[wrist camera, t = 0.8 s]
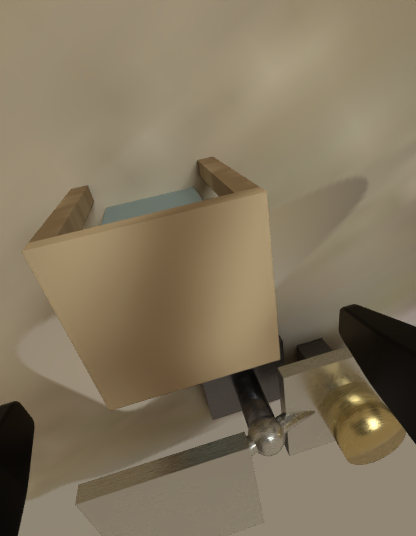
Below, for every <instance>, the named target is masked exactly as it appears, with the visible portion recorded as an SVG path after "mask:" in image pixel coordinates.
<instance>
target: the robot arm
mask: <svg viewBox="0 0 416 536" xmlns="http://www.w3.org/2000/svg"><path fill="white" fill-rule="evenodd" d="M339 333H340V336H341V338H342V339H343V341H344V343H345V344H346V346H347V348H348V349H349V351H350V352H351V354H352V356H353V357H354V359H355V361H356V362H357V364H358V365H359V367H360V369H361V370H362V372H363V374H364V375H365V377H366V378H367V380H368V381H369V383H370V384H371V386H372V387H373V389H374V390H375V391H376V393H377V394H378V395H379V397H380V398H381V399H382V401H383V402H384V403H385V404H386V406H387V407H388V408H389V410H390V411H391V412H392V414H393V415H394V416H395V418H396V419H397V420H398V422H399V423H400V424H401V425H402V427H403V428H404V429H405V431H406V432H407V433H408V435H409V436H410V437H411V439H412V440H413V441H414V443H415V444H416V327H415V326H412V325H410V324H407V323H405V322H402V321H399V320H397V319H394V318H391V317H389V316H386V315H383V314H381V313H378V312H375V311H373V310H370V309H367V308H365V307H362V306H359V305H356V304H352V305H349V306H345V307H342V308H341V309H340V315H339ZM33 437H34V421H33V419H32V417H31V416H30V415H29V414H28V412H27V411H26V410H25V408H24V407H23V406H22V405H21V403H20V402H17V401H14V402H10V403H7V404H3V405H1V406H0V536H18V532H19V527H20V523H21V518H22V513H23V508H24V504H25V499H26V494H27V488H28V481H29V472H30V464H31V455H32V446H33Z"/></svg>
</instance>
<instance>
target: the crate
mask: <svg viewBox="0 0 416 536" xmlns="http://www.w3.org/2000/svg"><path fill="white" fill-rule="evenodd" d="M198 166H199V171H200V176H201V178H202V179H203V180H204V181H205V182H206V183H207V184H208V185H209V186H210V187H211V188H212V190H213V191H214V192H215V193H216V194H217V195H218V196H219V197H216V198H212V199H208V200H203V201H199V202H195V203H191V204H187V205H183V206H179V207H175V208H170V209H166V210H162V211H158V212H154V213H150V214H146V215H142V216H137V217H133V218H129V219H125V220H121V221H117V222H113V223H109V224H104V225H100V226H96V227H92V228H88V229H84V230H81V229H82V227H83V225H84V223H85V221H86V218H87V216H88V214H89V212H90V209H91V207H92V205H93V203H94V200H93V198H92V195H91V192H90V190H89V187H88V186H83V187H79V188H75V189H71V190H70V191H69V192H68V194H67V195H66V196H65V197H64V199H63V200H62V201H61V202H60V204H59V205H58V206H57V208H56V209H55V210H54V211H53V213H52V214H51V215H50V216H49V218H48V219H47V220H46V221H45V223H44V224H43V225H42V226H41V228H40V229H39V230H38V231H37V233H36V234H35V235H34V236H33V238H32V239H31V240H30V242H29V243H28V244H27V245H26V247H25V248H24V249H23V250H22V253H23V255H24V257H25V259H26V261H27V262H28V264H29V266H30V268H31V270H32V271H33V273H34V275H35V277H36V279H37V281H38V282H39V284H40V286H41V288H42V290H43V291H44V293H45V295H46V297H47V299H48V300H49V302H50V304H51V306H52V308H53V309H54V311H55V313H56V315H57V317H58V318H59V320H60V322H61V324H62V326H63V327H64V329H65V331H66V333H67V335H68V337H69V338H70V340H71V342H72V344H73V346H74V347H75V349H76V351H77V353H78V354H79V356H80V358H81V360H82V362H83V363H84V365H85V367H86V369H87V371H88V373H89V374H90V376H91V378H92V380H93V382H94V383H95V385H96V387H97V389H98V391H99V393H100V394H101V396H102V398H103V400H104V402H105V403H106V405H107V407H108V409H109V411H111V410H114V409H117V408H121V407H124V406H127V405H131V404H134V403H137V402H141V401H144V400H147V399H151V398H154V397H157V396H161V395H164V394H167V393H171V392H174V391H177V390H181V389H184V388H187V387H191V386H194V385H197V384H201V383H204V382H207V381H211V380H214V379H217V378H221V377H224V376H227V375H231V374H234V373H237V372H241V371H244V370H247V369H251V368H254V367H257V366H260V365H264V364H267V363H270V362H274V361H277V360H280V348H279V336H278V323H277V311H276V299H275V287H274V275H273V262H272V250H271V237H270V225H269V213H268V200H267V191H265V190H263V189H262V188H260V187H259V186H257V185H256V184H254V183H253V182H251V181H250V180H248V179H247V178H245V177H243V176H242V175H240V174H239V173H237V172H236V171H234V170H233V169H231V168H230V167H228V166H227V165H225V164H223V163H222V162H220V161H219V160H217V159H216V158H214V157H210V158H206V159H201V160H198Z"/></svg>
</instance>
